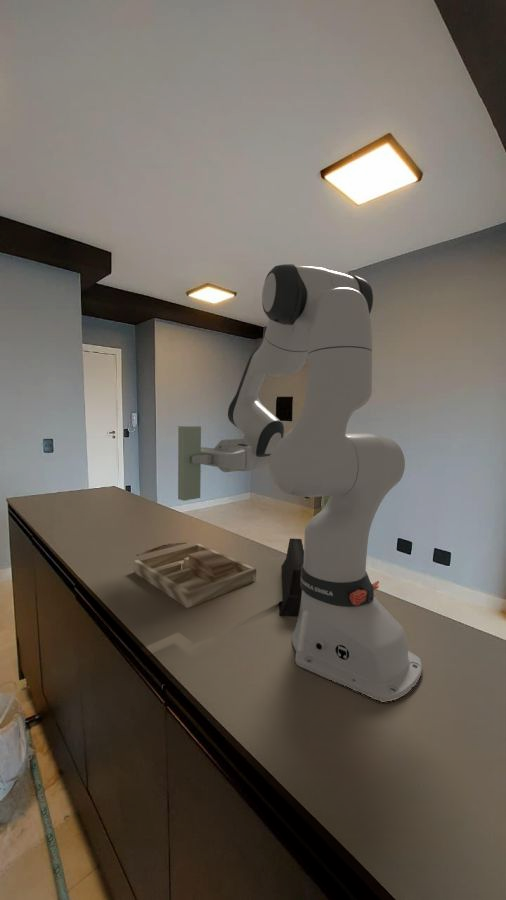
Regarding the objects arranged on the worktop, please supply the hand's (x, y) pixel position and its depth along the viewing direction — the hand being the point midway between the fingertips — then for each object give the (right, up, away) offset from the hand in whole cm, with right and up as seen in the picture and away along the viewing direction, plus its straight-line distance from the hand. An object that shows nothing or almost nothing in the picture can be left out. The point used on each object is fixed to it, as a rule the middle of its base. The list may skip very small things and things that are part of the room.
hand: (186, 458), depth 91 cm
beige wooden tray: (+1, -31, +2) cm, 31 cm away
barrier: (+27, -32, -1) cm, 42 cm away
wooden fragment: (-7, -29, +25) cm, 39 cm away
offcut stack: (+5, -29, +4) cm, 30 cm away
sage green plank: (0, -10, +2) cm, 10 cm away
